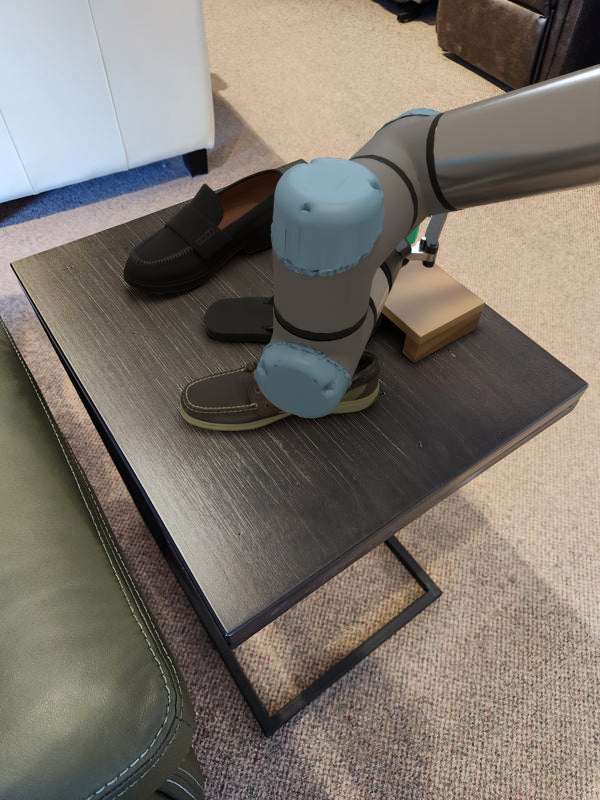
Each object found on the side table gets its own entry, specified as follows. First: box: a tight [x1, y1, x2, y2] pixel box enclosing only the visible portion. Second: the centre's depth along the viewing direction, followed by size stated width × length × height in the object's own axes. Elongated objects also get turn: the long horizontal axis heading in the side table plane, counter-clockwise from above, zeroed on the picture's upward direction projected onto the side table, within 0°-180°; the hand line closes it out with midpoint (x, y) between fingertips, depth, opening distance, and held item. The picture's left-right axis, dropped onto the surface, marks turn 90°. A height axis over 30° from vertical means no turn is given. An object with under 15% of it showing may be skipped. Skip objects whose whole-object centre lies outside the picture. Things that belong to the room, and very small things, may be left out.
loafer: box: [122, 168, 284, 294], centre depth 88 cm, size 10×28×12 cm, turn 126°
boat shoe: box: [179, 348, 382, 432], centre depth 72 cm, size 9×25×8 cm, turn 103°
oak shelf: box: [381, 244, 486, 364], centre depth 86 cm, size 22×12×5 cm, turn 35°
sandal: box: [204, 294, 385, 343], centre depth 81 cm, size 10×25×6 cm, turn 93°
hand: (412, 162), depth 71 cm, fingers closed on candle, 5 cm apart
